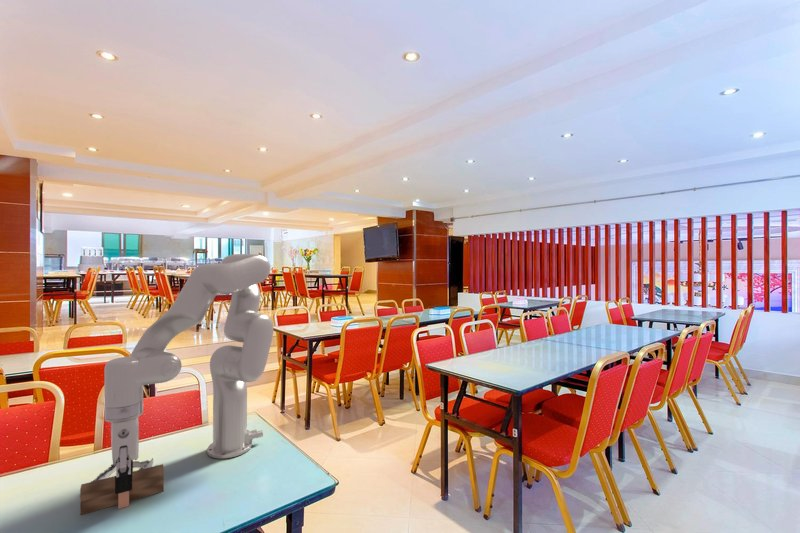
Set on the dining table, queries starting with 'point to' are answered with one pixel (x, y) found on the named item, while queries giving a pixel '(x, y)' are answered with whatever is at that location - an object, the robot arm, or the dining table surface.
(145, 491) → the walnut base board
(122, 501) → the terracotta board
